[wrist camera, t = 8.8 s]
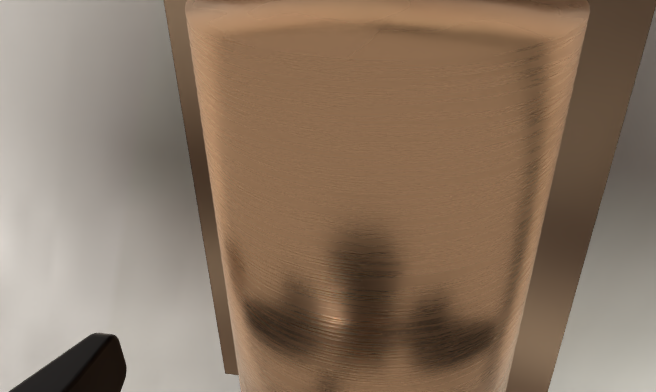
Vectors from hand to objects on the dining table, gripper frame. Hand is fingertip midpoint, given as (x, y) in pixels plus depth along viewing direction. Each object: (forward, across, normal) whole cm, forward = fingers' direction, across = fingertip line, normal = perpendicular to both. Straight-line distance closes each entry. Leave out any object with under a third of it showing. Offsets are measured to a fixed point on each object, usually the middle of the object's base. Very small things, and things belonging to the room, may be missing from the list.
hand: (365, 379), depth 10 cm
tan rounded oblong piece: (+5, 0, 0) cm, 5 cm away
